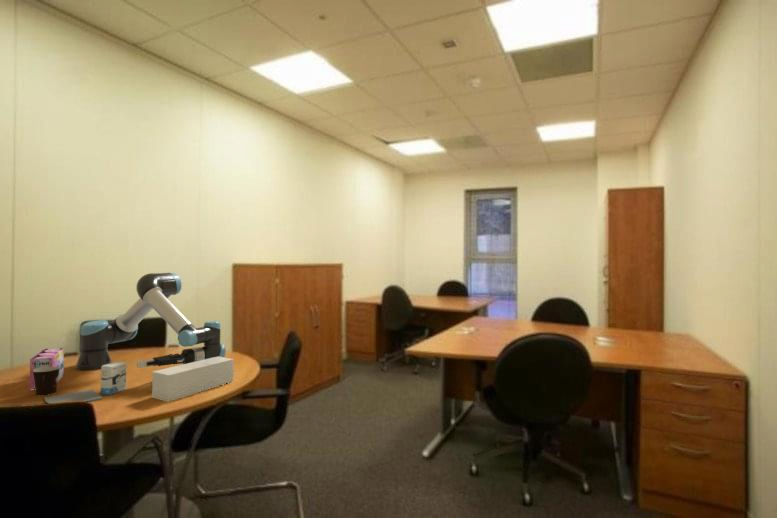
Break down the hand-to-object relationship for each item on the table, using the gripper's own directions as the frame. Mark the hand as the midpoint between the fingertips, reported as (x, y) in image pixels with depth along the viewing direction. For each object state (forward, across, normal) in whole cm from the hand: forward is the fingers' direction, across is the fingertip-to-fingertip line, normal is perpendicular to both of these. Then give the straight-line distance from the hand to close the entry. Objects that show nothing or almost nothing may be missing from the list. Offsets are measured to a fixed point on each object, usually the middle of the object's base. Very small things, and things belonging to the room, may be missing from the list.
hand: (137, 364), depth 185 cm
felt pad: (+23, +1, -10) cm, 25 cm away
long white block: (-16, -20, -10) cm, 28 cm away
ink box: (+9, +1, -10) cm, 13 cm away
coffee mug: (+30, +17, -10) cm, 36 cm away
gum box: (+25, +36, -10) cm, 45 cm away
